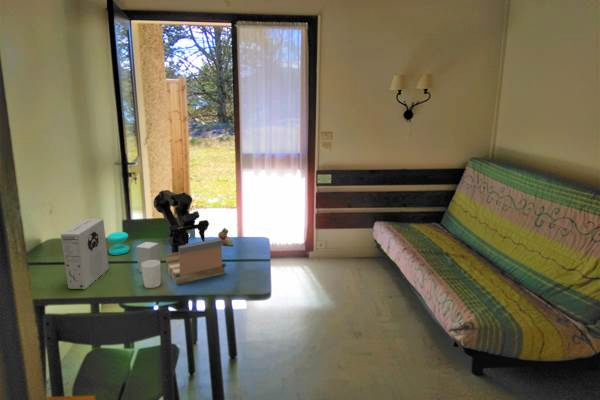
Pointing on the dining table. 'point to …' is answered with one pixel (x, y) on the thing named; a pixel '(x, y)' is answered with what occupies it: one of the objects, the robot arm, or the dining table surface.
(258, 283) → the dining table surface
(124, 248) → the donuts
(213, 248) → the panel
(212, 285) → the dining table surface
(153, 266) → the white cup
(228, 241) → the chocolate bunny
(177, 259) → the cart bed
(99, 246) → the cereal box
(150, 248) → the supplement box
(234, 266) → the dining table surface
